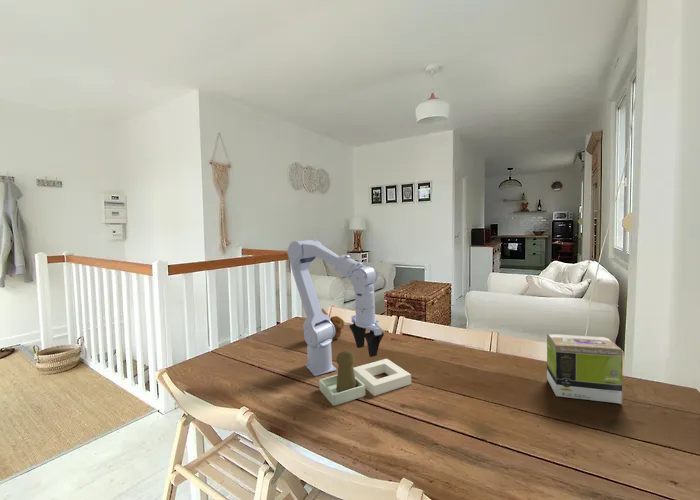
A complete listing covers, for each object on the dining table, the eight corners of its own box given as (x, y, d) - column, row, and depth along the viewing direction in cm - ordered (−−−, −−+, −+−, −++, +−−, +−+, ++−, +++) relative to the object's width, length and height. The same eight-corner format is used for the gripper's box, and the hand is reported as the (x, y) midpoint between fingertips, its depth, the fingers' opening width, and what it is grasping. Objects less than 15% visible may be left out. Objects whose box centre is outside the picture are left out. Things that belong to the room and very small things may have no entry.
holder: (352, 376, 103) (352, 367, 102) (387, 367, 109) (386, 358, 108) (374, 396, 91) (374, 385, 91) (411, 383, 97) (411, 374, 97)
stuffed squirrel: (309, 337, 139) (307, 307, 138) (341, 333, 142) (339, 304, 141) (312, 346, 129) (311, 314, 128) (346, 341, 133) (345, 310, 132)
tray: (319, 389, 96) (318, 379, 96) (349, 380, 100) (349, 371, 100) (333, 406, 87) (332, 395, 87) (366, 395, 91) (365, 385, 91)
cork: (353, 396, 90) (351, 358, 89) (333, 393, 92) (331, 356, 91) (359, 385, 96) (358, 349, 95) (340, 383, 98) (338, 348, 97)
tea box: (606, 386, 92) (607, 335, 91) (622, 405, 82) (625, 349, 81) (545, 379, 97) (546, 331, 95) (554, 397, 87) (556, 344, 86)
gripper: (390, 310, 91) (391, 357, 92) (364, 300, 104) (366, 340, 105) (368, 314, 88) (370, 362, 89) (345, 303, 100) (346, 345, 102)
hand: (366, 351), depth 97 cm, fingers open, 7 cm apart
